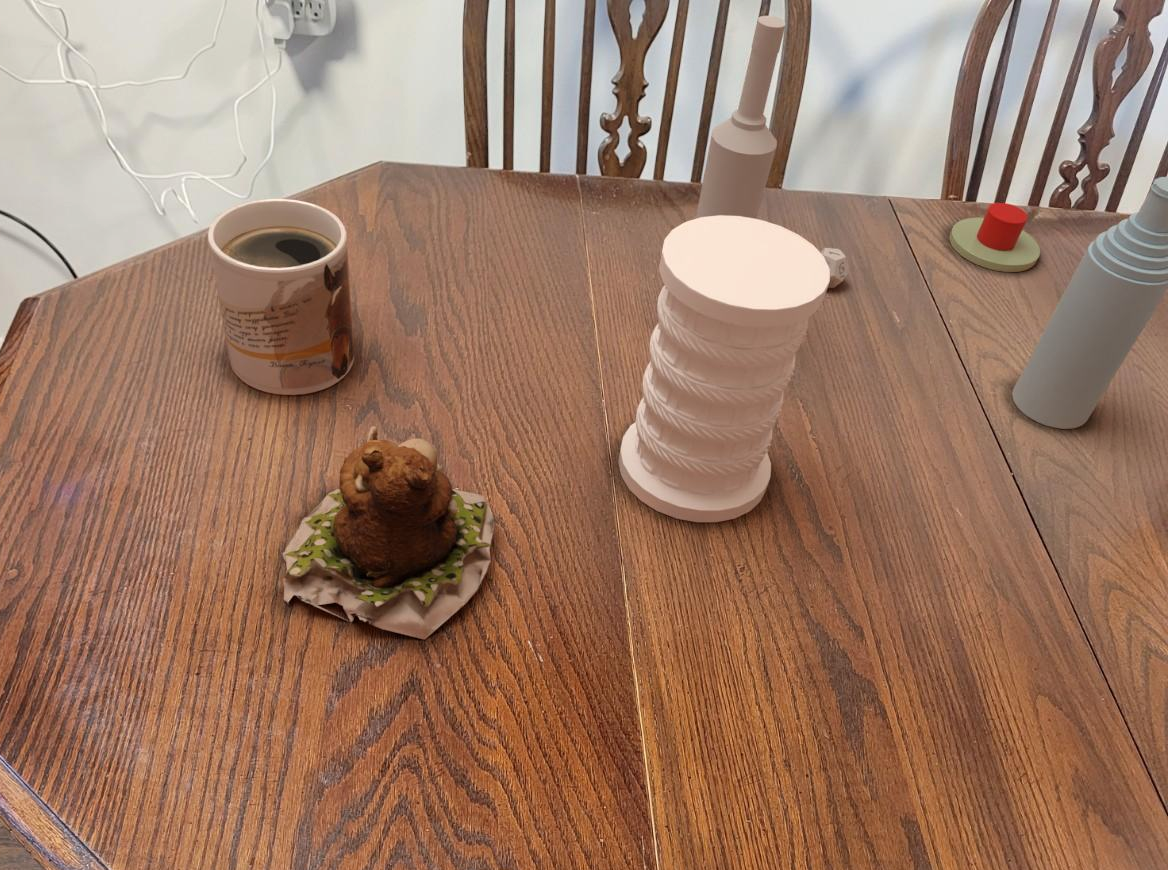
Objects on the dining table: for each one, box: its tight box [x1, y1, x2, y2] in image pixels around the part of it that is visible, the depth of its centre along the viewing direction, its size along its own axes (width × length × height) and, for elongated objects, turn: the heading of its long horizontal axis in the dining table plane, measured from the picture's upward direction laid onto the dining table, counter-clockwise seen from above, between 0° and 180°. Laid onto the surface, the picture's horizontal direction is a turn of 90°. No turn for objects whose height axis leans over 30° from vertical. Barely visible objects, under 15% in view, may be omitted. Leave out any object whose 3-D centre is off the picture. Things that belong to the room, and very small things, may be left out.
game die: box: [819, 247, 851, 289], centre depth 98 cm, size 4×4×3 cm
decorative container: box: [617, 215, 830, 523], centre depth 73 cm, size 12×12×18 cm
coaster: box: [948, 217, 1041, 273], centre depth 107 cm, size 9×9×1 cm
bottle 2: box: [1011, 176, 1168, 430], centre depth 83 cm, size 7×7×20 cm
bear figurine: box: [282, 425, 496, 640], centre depth 67 cm, size 14×15×12 cm
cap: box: [977, 202, 1029, 251], centre depth 105 cm, size 4×4×3 cm
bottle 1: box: [695, 15, 786, 219], centre depth 84 cm, size 5×5×25 cm
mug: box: [207, 198, 355, 396], centre depth 81 cm, size 10×12×11 cm
